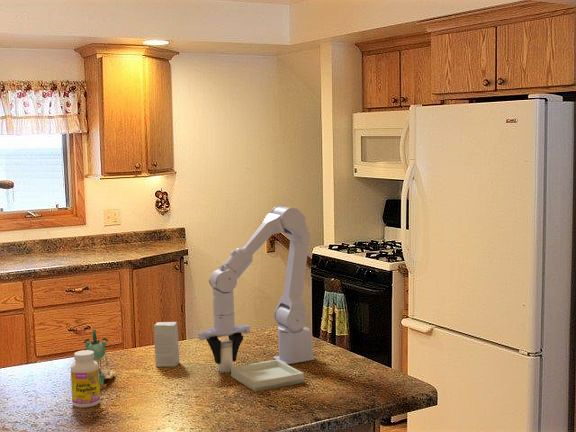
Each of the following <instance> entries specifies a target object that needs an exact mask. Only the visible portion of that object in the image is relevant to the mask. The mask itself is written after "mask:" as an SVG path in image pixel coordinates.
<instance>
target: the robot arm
mask: <svg viewBox="0 0 576 432" xmlns="http://www.w3.org/2000/svg"><path fill="white" fill-rule="evenodd" d="M280 233H284V235H286V237H287V238H288V239H289V248H288V249H289V250H288V257H287V265H286V271H285V277H284V278H285V279H284V287H283V293H282V295H281V296H280V298H279V300H278V303H277V306H276V308H275V310H274V314H273V315H274V316H273V318H274V320H275V322H276V323H277V324H278V325H277V333H278V334H277V338H278V339H277V342H278V355H276V356H273V360H276V359H278V360H280V361H282V362H283V363H285V364H287V365H291V364H292V365H293V364H297V363H304V362H309V361H314V360H315V357H314V345H313V344H314V342H313V333H312V331H311V329H310V328H309V327H308V326H306V324H307V321H308V318H307V317H308V316H307V313H306V307H307V306H306V303H305V301H304V299H303V298H304V297H303V294H304V293H303V291H304V284H305V277H306V269H307V261H308V253H309V246H310V239H311V238H310V236H311V235H310V234H311V233H310V232H309V229H308V226H307V223H306V216H305V214H303V213H302V211H301V210H299V208H297V207H288V206H284V205H276V206H274V207H273V208H271V211H270V212H269V213H267V214H266V215H265V217H264V219H263V221H262V222H261V223H260V225H259V226H258V227H257V229H256V230H255V231H254V232H253V234H252V235H251V236H250V238H249V239H248V240H247V242H246V243H245V244H244V245H243V246H242V247H237V248H236V249H235V250H234V249H232V250H231V251H230V252H229V253H230V254H229V255H230V256H229V257H228V258H227V259H226V260H225V261H224V262H223V264H220V265H219V268H218V269H215V270H214V271H213V272H212V273H211V274H210V278H209V279H208V283H209V285H210V287H211V288H212V309H213V311H212V312H213V314H212V315H213V328H211V329H207V330H201V331H198V339H199V340H200V341H205V340H206V342H207V343H208V345H209V347H210V350H211V352H212V355H213V359H214V362H215V364H217V365H218V364H220V346H221V340H220V337H228V340H231V341H232V342H233V346H232V353H233V362H236V361H237V357H238V352H239V349H240V346H241V345H242V342H243V340H244V335H243V334H250V333H251V326H250V325H248V324H242V325H235V296H234V289H236V288H237V284H238V279H240V277H241V275H242V274H244V273H245V271H246V270H247V269H248V268H249V267H250V265H252V263H253V259H254V257H253V256H254V254H255V253H256V252H257V251H258V250H259V249H260V248H261V247H262V246H263V245H264V244H265V243H266V241H268V239H269V238H270V237H271V236H272V235H275V234H280Z"/></svg>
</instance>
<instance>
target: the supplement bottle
mask: <svg viewBox="0 0 576 432" xmlns="http://www.w3.org/2000/svg"><path fill="white" fill-rule="evenodd" d="M73 358H74V360H75V362H73V363H72V364H71V366H70V380H71V381H70V382H71V403H72V405H73V406H74V407H75V408H80V409H82V408H83V409H85V408H91V407H94V406H97V405H98V404H99V403H100V402H101V389H100V382H99V369H100V364H99V365H98V361H94V360H93V358H94V351H91V350H87V349H86V350H85V349H84V350H83V349H82V350H79V351H76V352H74V355H73Z"/></svg>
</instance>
